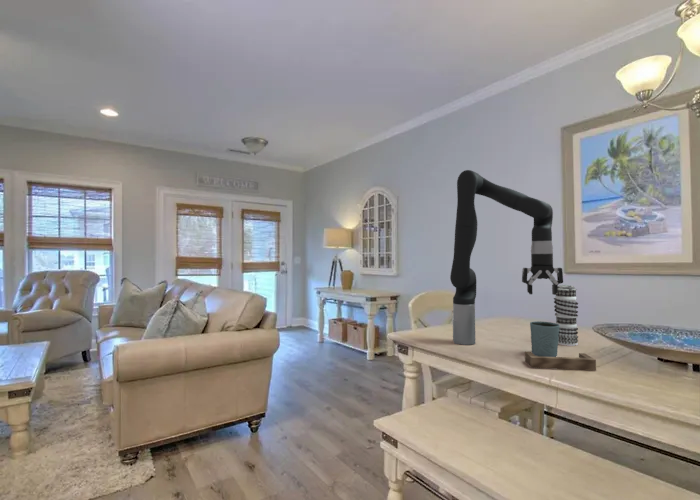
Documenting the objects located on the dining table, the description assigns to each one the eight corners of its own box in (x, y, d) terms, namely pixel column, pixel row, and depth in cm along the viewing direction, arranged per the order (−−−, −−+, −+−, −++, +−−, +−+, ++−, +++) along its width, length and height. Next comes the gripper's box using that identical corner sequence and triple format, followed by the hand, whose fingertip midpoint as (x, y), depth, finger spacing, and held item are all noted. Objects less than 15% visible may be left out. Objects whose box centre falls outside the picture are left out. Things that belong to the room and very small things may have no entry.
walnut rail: (531, 367, 127) (531, 357, 127) (525, 361, 135) (524, 351, 135) (596, 370, 123) (595, 359, 123) (585, 363, 131) (585, 353, 131)
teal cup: (530, 350, 149) (530, 320, 150) (559, 352, 145) (558, 322, 145) (530, 356, 140) (530, 325, 140) (561, 359, 136) (560, 327, 136)
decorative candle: (550, 340, 164) (549, 284, 165) (571, 340, 164) (570, 284, 164) (561, 346, 155) (560, 286, 156) (583, 346, 155) (582, 286, 155)
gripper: (525, 253, 142) (525, 295, 142) (565, 252, 139) (566, 295, 139) (519, 253, 149) (520, 293, 149) (558, 252, 147) (558, 293, 147)
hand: (542, 294), depth 144 cm, fingers open, 8 cm apart
